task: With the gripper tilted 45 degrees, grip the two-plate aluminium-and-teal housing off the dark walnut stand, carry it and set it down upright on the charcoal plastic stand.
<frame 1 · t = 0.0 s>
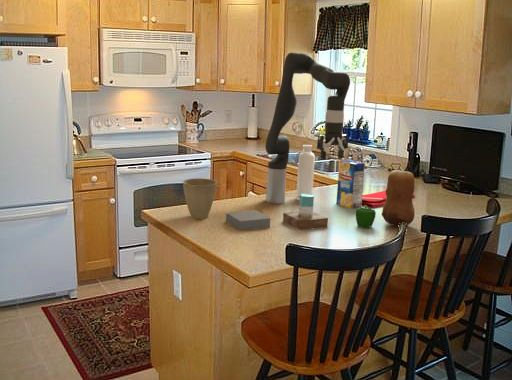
hand: (331, 159, 246), 29 cm above the countertop, tool pointing down, fingers open, 8 cm apart
grey stand: (247, 224, 249), on the countertop
butternut squash: (396, 226, 257), on the countertop
walnut stand: (304, 224, 253), on the countertop
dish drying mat: (382, 201, 306), on the countertop
bottle: (304, 199, 299), on the countertop
beverage box: (348, 205, 290), on the countertop
plant pot: (199, 217, 257), on the countertop
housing: (305, 215, 252), point 4 cm above the countertop, touching walnut stand
bell pepper: (364, 227, 253), on the countertop
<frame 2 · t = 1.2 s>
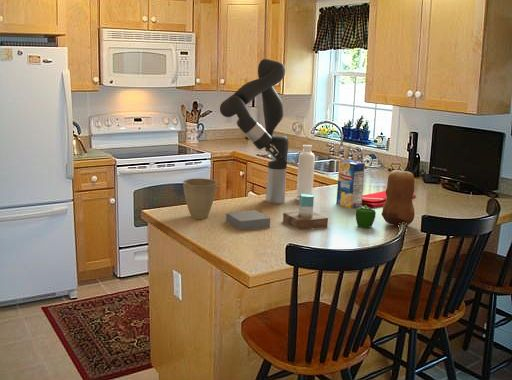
hand: (283, 163, 245), 27 cm above the countertop, tool tilted 45°, fingers open, 8 cm apart
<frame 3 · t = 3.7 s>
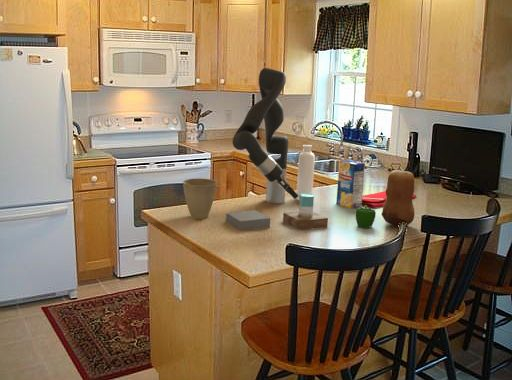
hand: (294, 195, 249), 13 cm above the countertop, tool tilted 45°, fingers open, 8 cm apart
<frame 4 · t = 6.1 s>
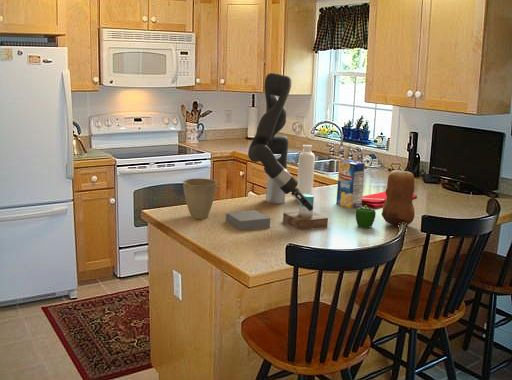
hand: (310, 207, 252), 7 cm above the countertop, tool tilted 45°, fingers closed on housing, 5 cm apart
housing: (305, 215, 252), point 4 cm above the countertop, touching gripper, walnut stand
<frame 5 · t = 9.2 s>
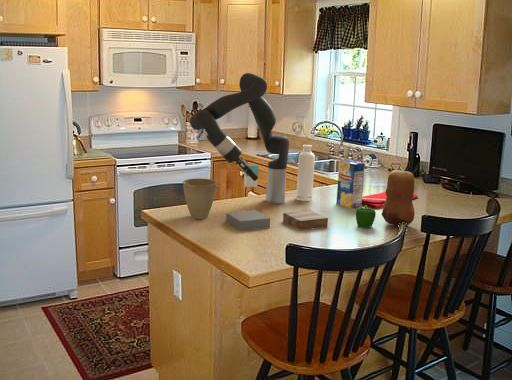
hand: (255, 178, 244), 20 cm above the countertop, tool tilted 45°, fingers closed on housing, 5 cm apart
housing: (250, 185, 245), point 17 cm above the countertop, touching gripper
when the fingers open (9 cm above the countertop, at t = 12.4 s): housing drops 1 cm, resting on grey stand.
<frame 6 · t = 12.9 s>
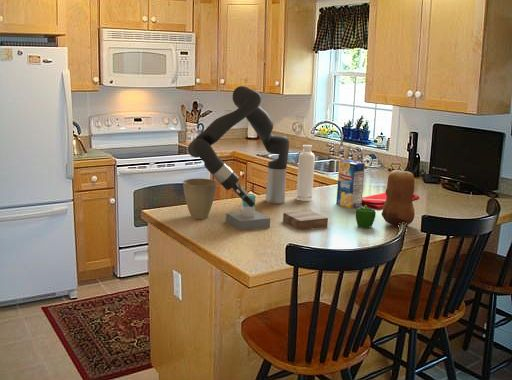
hand: (251, 203, 247), 9 cm above the countertop, tool tilted 45°, fingers open, 8 cm apart
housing: (247, 215, 248), point 4 cm above the countertop, touching grey stand
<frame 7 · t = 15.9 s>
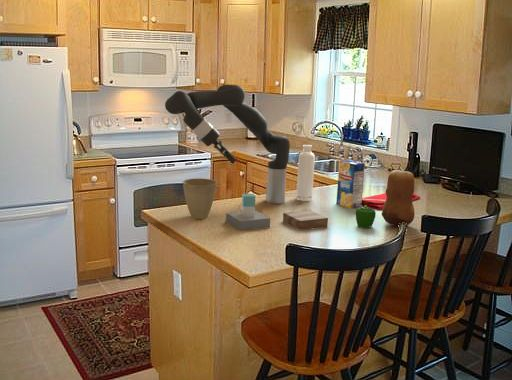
hand: (233, 160, 241), 28 cm above the countertop, tool tilted 45°, fingers open, 8 cm apart
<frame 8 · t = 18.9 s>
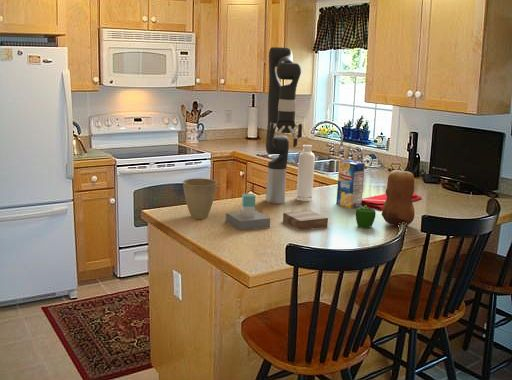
hand: (284, 146, 256), 32 cm above the countertop, tool pointing down, fingers open, 8 cm apart
at the end: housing inside the target area on the grey stand (0.1 cm from its centre), point 4.0 cm above the grey stand's base; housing tilted 0°; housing touching grey stand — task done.
